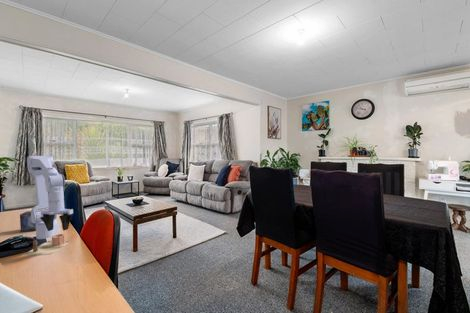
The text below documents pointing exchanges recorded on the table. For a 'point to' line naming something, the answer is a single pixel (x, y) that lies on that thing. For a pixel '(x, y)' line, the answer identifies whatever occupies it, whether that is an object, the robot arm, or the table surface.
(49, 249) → the board
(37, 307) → the table surface
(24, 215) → the small box
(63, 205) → the robot arm
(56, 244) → the light brown wooden block
